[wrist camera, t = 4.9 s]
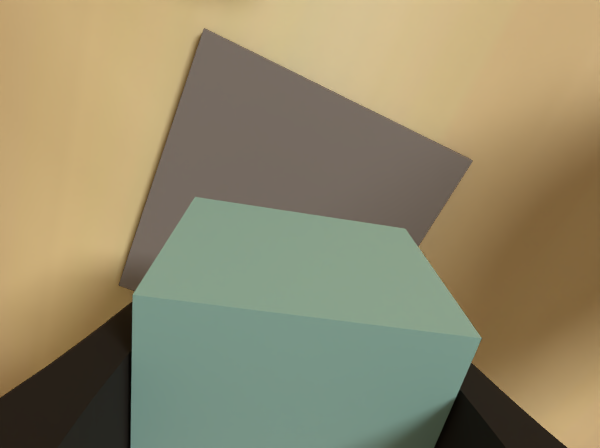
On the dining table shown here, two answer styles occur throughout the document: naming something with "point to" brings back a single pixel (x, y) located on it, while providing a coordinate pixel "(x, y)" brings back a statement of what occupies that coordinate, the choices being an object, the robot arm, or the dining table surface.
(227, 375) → the teal brick
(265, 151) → the mat
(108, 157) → the dining table surface
